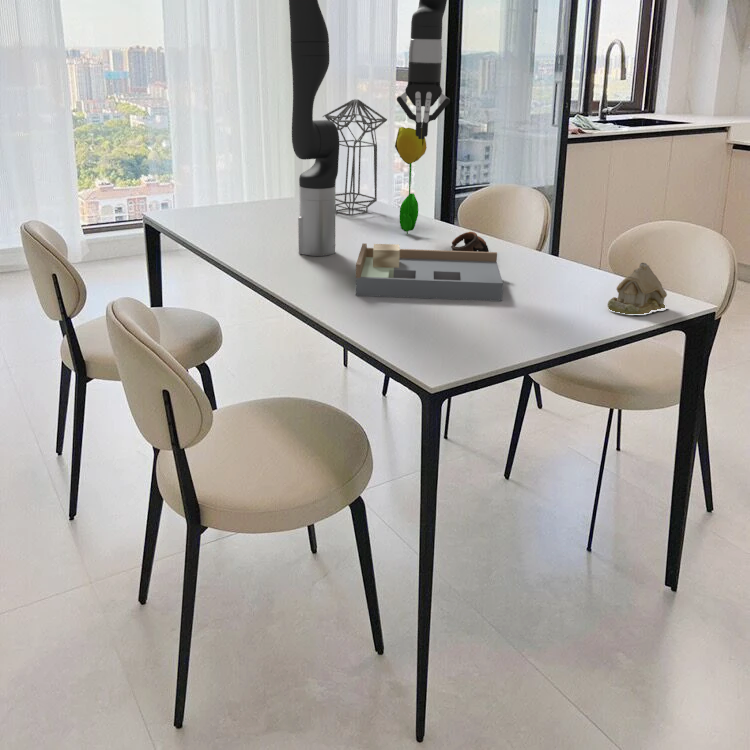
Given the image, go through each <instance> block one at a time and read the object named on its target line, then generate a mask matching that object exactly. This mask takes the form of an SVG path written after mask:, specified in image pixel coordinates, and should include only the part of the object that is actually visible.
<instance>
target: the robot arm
mask: <svg viewBox="0 0 750 750" xmlns="http://www.w3.org/2000/svg"><path fill="white" fill-rule="evenodd" d="M447 1H448V0H419V3H418V7H417V10H416V11H414V12H413V14H412V17H411V22H410V23H411V24H410V42H409V48H408V49H409V50H408V66H407V67H408V69H407V70H408V71H407V72H408V73H407V84H406V87H405V89H404V92H403V93H402V94H401V95H398V96H397V97H396V101H397V103H398V105H399V106H400V107H401V109H402V110H403V112H404V114H405V115H406V116H407V117H408V119H409V120H411V121H414V122H415V130H416V136H418V139H424V137H426V138H427V137H428V133H429V122H432V121H435V120H436V119H437V118H439V116H440V115H441V113H442V112H443V111H444V110H445V108H446V107H447V106H448V105H449V104H450V102H451V99H450V98H449V97H447V96H446V94H444V93H443V89H442V86H441V79H442V61H443V60H442V59H443V46H442V45H443V44H442V43H443V42H442V41H443V40H442V38H443V36H442V35H443V20H444V19H443V18H444V14H445V10H446V6H447ZM288 7H289V8H288V11H289V24H290V25H289V26H290V29H289V30H290V60H291V69H292V75H291V76H292V112H291V113H292V114H291V144H292V148H293V153H294V154H295V156H296V157H297V158H298V159H299V160H315V161H314V163H313V164H312V166H311V167H310V168H308V169H307V170H306V171H303V172H302V173H301V174H300V175H299V179H298V182H299V183H298V185H299V186H298V187H299V190H298V192H299V197H298V198H299V217H298V218H297V219H298V221H297V223H298V224H297V225H298V229H297V230H298V231H297V232H298V254H299V255H305V256H312V257H323V256H324V257H325V256H331V255H333V254H334V255H335V253H336V212H335V204H336V200H335V198H336V196H335V195H336V194H337V193H336V184H337V183H336V182H337V178H338V174H339V160H340V158H339V157H340V145H339V144H340V142H339V141H340V134H339V130H338V129H337V124H335V123H333V122H332V121H331V120H330V119H329V120H330V121H329V120H327V119H321V120H317V119H316V120H313V118H314V117H313V116H314V115H313V113H314V110H313V109H314V105H315V104H314V103H315V98H316V97H317V96H316V95H317V93H318V90H319V88H320V87H321V85H322V83H323V81H324V78H325V77H326V74H327V72H328V69H329V66H330V38H329V36H330V35H329V32H328V31H329V30H328V27H327V24H326V21H325V18H324V15H323V13H322V10H321V7H320V5H319V0H288ZM407 97H408V98H407ZM439 98H440V99H439ZM408 99H409V101H410V102H411V105H413V106H414V107H415V113H413V111H412V109H411V108H410V107H409V105H408V104H407V102H408ZM437 101H438V103H439V106H437V108H436V109H435V110H434V111H433V113H432V114H430V110H431V107H433V106H434V105H435V104H436V102H437ZM422 107H424V112H423V119H422ZM422 120H423V121H422ZM421 134H422V138H421Z"/></svg>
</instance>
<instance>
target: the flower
mask: <svg viewBox="0 0 750 750" xmlns="http://www.w3.org/2000/svg"><path fill="white" fill-rule="evenodd" d="M421 138H422V134H421ZM394 148H395V150H396V151H397V154H398V155H399V158H400V159H402V161H403V162H404V163H406V164H407V165H409V170H408V175H409V177H408V178H409V180H408V195H407V196H406V198H404V200H403V201H402V202H401V205H400V208H399V226H400V229H401V230H402V231H404V232H406V235H409V232H410V231H414V229H415V227H416V224H417V221H418V216H419V202H418V200H417V197H416V196H415V193H414V192H413V193H412V192H411V184H412V183H411V182H412V164H414V163H415V162H417V161H419V160H420V159H421V158H422V157H423V156H424V155H425V154H426V151H427V140H426V138H425V137H424V139H418V136H416V128H413V127H403V126H400V127H398V131H397V134H396V140H395V144H394Z"/></svg>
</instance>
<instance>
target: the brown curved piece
mask: <svg viewBox="0 0 750 750" xmlns="http://www.w3.org/2000/svg"><path fill="white" fill-rule="evenodd" d="M461 242H463V243H464V245H462V246H457V245H458V244H459V243H461ZM450 248H451V251H475V252H490V250H489V247H488V245H487V242H486V241H485V239H484V238H482V237H481V236H478V234H477V233H476V232H474V231H468V232H464V233H462V234H459V235H458V236H457V237H455V238H454V239H453V240H452V241H451V246H450Z"/></svg>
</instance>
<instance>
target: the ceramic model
mask: <svg viewBox="0 0 750 750" xmlns="http://www.w3.org/2000/svg"><path fill="white" fill-rule="evenodd" d="M616 291H617V293H618V295H617V297H614V296H613V297H612V298H610V299H609V300H608V302H607V308H608V310H609V309H610V310H612V311H615V312H620V313H625V314H644V313H649V312H650V311H651V310H657V309H661V308H665V305H666V304H665V298H667V296H668V294H667V291H666V290H665V289H664V288H663V284H662V282H661V281H660V280H659V278H658V277H657V275H656V274H655V273H654V271H653V270H652V268H651V267H650V265H649V264H647V263H645V262H640V264H639V267H637V268H635V269H633V271H632V272H631V273H630V274H628V276H625V278H624V279H623V280H621V282H619V284H618V285H617V286H616ZM664 304H665V305H664Z"/></svg>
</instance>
